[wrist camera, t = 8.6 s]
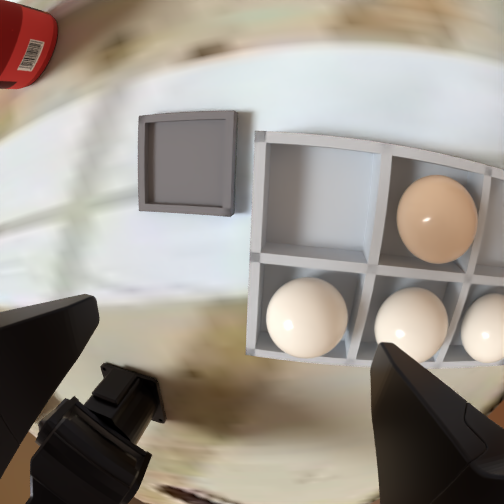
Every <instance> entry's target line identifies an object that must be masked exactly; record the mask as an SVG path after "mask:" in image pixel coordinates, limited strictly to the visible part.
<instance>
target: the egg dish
mask: <svg viewBox="0 0 504 504" xmlns="http://www.w3.org/2000/svg"><path fill="white" fill-rule="evenodd" d="M237 114H238V113H237V112H235V111H199V112H180V113H166V114H154V115H143V116H139V125H138V197H139V211H151V212H169V213H185V214H200V215H214V216H227V217H231V216H232V215H233V214H234V195H235V165H236V138H237Z"/></svg>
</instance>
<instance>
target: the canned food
mask: <svg viewBox="0 0 504 504" xmlns="http://www.w3.org/2000/svg"><path fill="white" fill-rule="evenodd" d="M57 33H58V27H57V23H56V20H55V19H54V18H53V17H52V16H51V15H50V14H49V13H47V12H44V11H41V10H38V9H35V8H31V7H28V6H25V5H21V4H17V3H14V2H10V1H6V0H0V89H20V88H23V87H26V86H29V85H31V84H32V83H33V82H35V81H36V80H37V78H38V77H39V76H40V75H41V74H42V72H43V71H44V69H45V68H46V66H47V64H48V63H49V60H50V58H51V56H52V54H53V51H54V48H55V45H56V40H57Z"/></svg>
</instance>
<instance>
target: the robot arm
mask: <svg viewBox="0 0 504 504" xmlns="http://www.w3.org/2000/svg"><path fill="white" fill-rule="evenodd" d="M98 324H99V312H98V306H97V301H96V298H95V297H94V296H91V295H87V294H82V295H78V296H73V297H68V298H64V299H59V300H55V301H50V302H45V303H41V304H36V305H31V306H27V307H22V308H17V309H13V310H8V311H3V312H0V479H1V477H2V475H3V473H4V471H5V469H6V468H7V466H8V464H9V463H10V461H11V459H12V458H13V456H14V454H15V453H16V451H17V449H18V448H19V446H20V445H19V444H21V442H22V441H23V439H24V437H25V436H26V434H27V433H28V431H29V429H30V428H31V426H32V425H33V423H34V422H35V420H36V419H37V417H38V415H39V414H40V412H41V411H42V409H43V408H44V406H45V405H46V403H47V402H48V400H49V399H50V397H51V396H52V394H53V393H54V392H55V390H56V389H57V387H58V386H59V384H60V383H61V381H62V380H63V379H64V377H65V376H66V374H67V373H68V372H69V370H70V369H71V367H72V366H73V365H74V363H75V362H76V360H77V359H78V357H79V356H80V354H81V353H82V351H83V349H84V348H85V346H86V344H87V343H88V341H89V339H90V338H91V336H92V334H93V333H94V331H95V329H96V328H97V326H98ZM101 371H102V374H103V377H104V379H103V380H102V381H101V382H100V384H99V385H98V386H97V387H96V388H95V390H94V391H93V392H92V396H91V397H90V398H89V399H88V400H87V402H86V403H85V404H84V405H83V404H82V403H81V402H79V401H78V399H77V398H76V397H75V396H74V397H73V398H72V399H71V400H69V399H66V398H65V399H64V400H63V401H62V402H61V403H60V404H59V405H58V407H57V408H56V409H54V410H53V411H52V412H51V413H49V414H48V415H47V416H46V417H44V418H43V419H42V420H41V421H40V422H39V424H38V426H39V433H38V437H37V439H36V441H35V442H36V443H37V444H38V445H39V446H40V447H39V449H38V450H37V451H36V453H35V454H34V456H33V457H32V458H31V462H30V490H31V496H30V498H29V499H28V501H27V502H26V504H128V503H129V501H130V500H131V499H132V498H133V497H134V495H135V494H136V492H137V491H138V489H139V487H140V485H141V482H142V480H143V477H144V474H145V472H146V469H147V467H148V464H149V462H150V459H151V456H152V454H150V453H149V452H146V451H144V450H143V449H141V448H140V447H138V446H137V445H136V444H137V443H138V441H139V439H140V438H141V436H142V434H143V433H144V431H145V429H146V428H147V426H148V424H149V423H150V421H151V420H153V421H156V422H159V423H165V421H166V416H165V412H164V407H163V403H162V398H161V393H160V389H159V384H158V381H157V380H156V379H154V378H152V377H148V376H145V375H141V374H138V373H134V372H131V371H128V370H124V369H121V368H118V367H115V366H112V365H109V364H106V363H103V364H102V365H101ZM370 376H371V412H372V423H373V430H374V439H375V447H376V457H377V467H378V478H379V492H380V504H504V429H503V428H502V427H500V426H499V425H497V424H496V423H495V422H493V421H492V420H490V419H489V418H488V417H486V416H485V415H484V414H482V413H481V412H480V411H478V410H477V409H476V408H475V407H473V406H472V405H471V404H470V403H467V401H466V400H465V399H463V398H462V397H461V396H460V395H458V394H457V393H456V392H455V391H453V390H452V389H451V388H450V387H448V386H447V385H446V384H445V383H443V382H442V381H441V380H440V379H438V378H437V377H436V376H435V375H433V374H432V373H431V372H429V371H428V370H427V369H426V368H424V367H423V366H422V365H421V364H419V363H418V362H417V361H416V360H414V359H413V358H412V357H410V356H409V355H408V354H407V353H405V352H404V351H403V350H401V349H400V348H399V347H398V346H396V345H395V344H394V343H391V342H380V343H379V344H378V346H377V349H376V352H375V355H374V358H373V361H372V364H371V369H370Z"/></svg>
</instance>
